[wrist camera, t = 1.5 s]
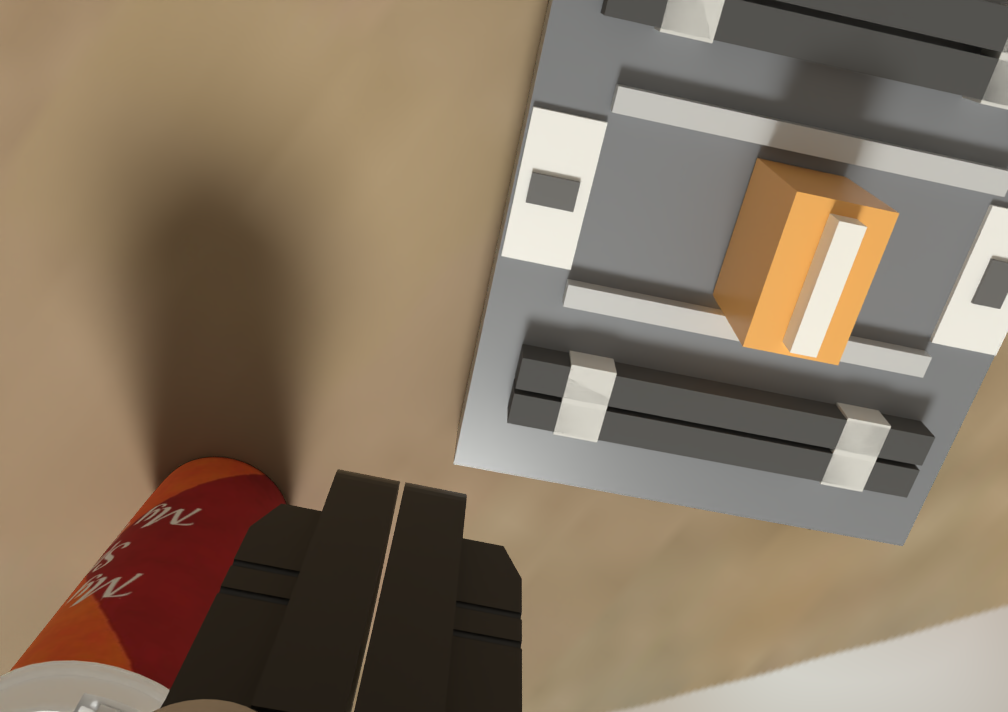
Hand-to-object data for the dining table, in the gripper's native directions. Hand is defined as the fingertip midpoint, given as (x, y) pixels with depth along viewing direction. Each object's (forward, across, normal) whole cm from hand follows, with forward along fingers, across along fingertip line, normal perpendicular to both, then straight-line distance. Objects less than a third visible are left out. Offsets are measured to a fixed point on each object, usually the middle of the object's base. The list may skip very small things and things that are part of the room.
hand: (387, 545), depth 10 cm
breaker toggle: (+20, -10, 0) cm, 23 cm away
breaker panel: (+23, -10, 0) cm, 25 cm away
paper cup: (+23, +7, +17) cm, 30 cm away
